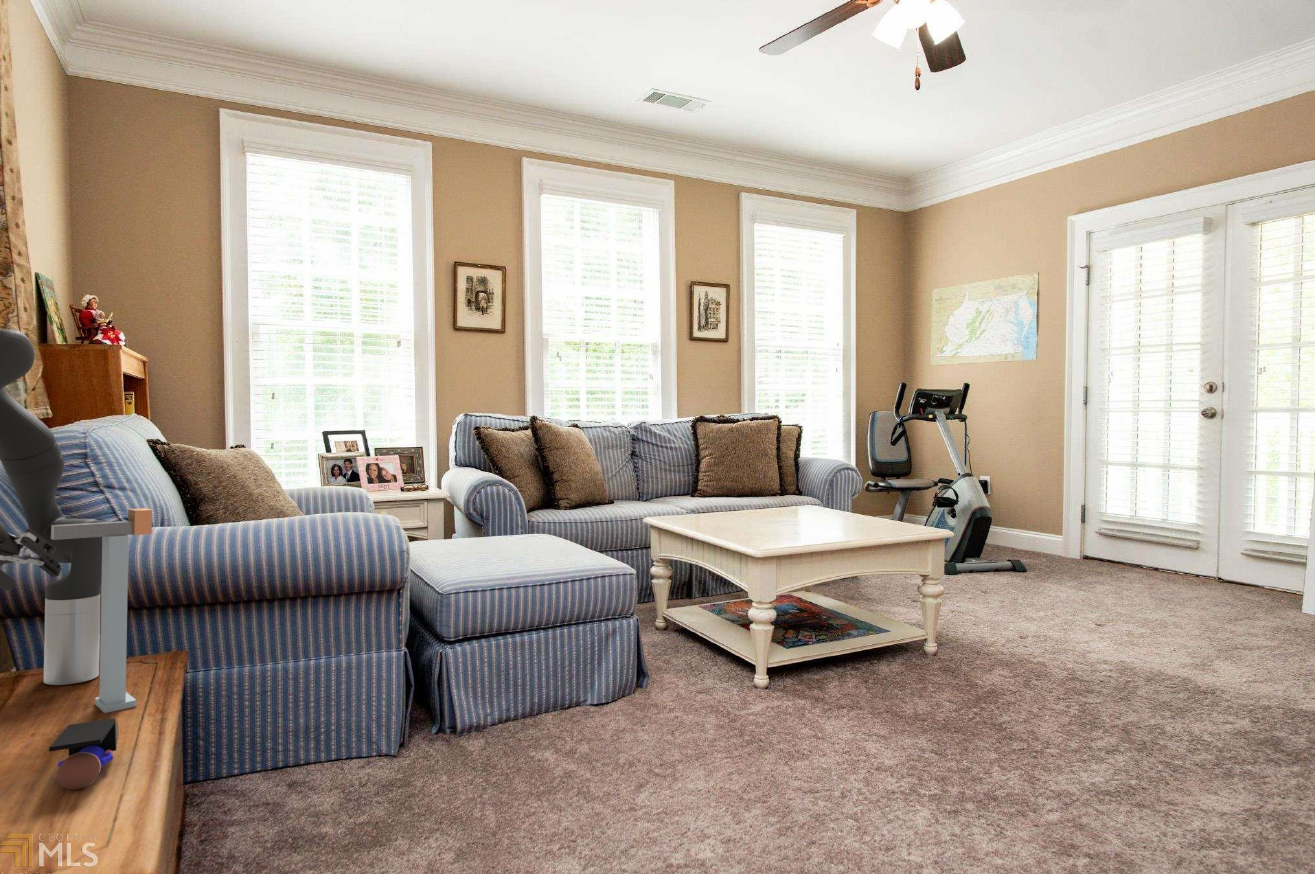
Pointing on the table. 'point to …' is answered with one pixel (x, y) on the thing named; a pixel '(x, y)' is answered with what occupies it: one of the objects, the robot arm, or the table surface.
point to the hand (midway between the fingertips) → (34, 579)
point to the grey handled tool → (107, 527)
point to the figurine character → (85, 751)
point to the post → (114, 626)
